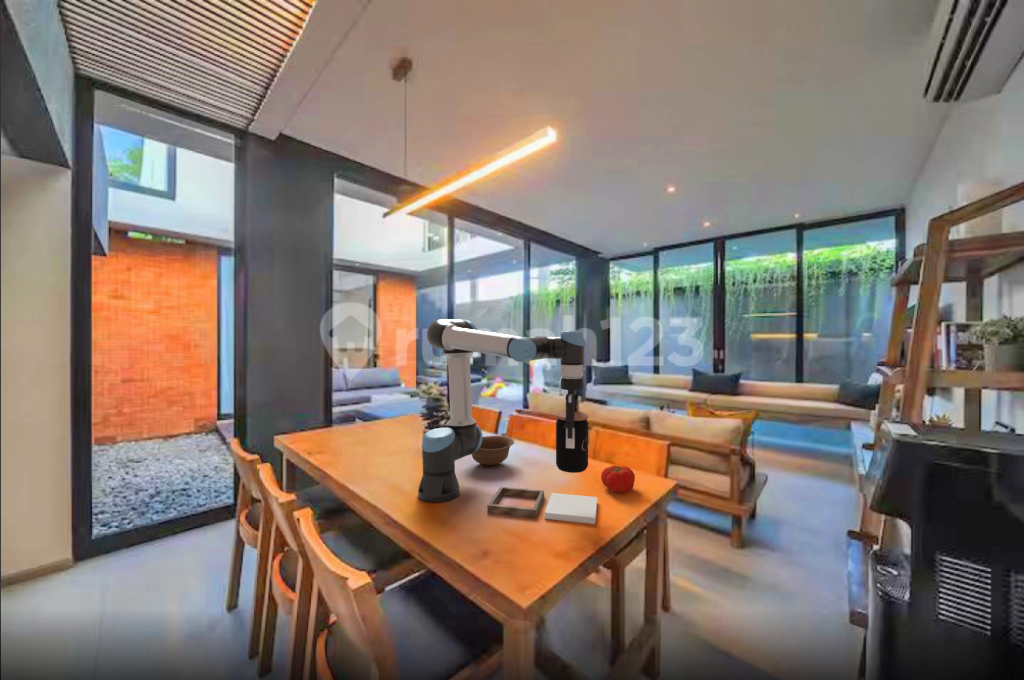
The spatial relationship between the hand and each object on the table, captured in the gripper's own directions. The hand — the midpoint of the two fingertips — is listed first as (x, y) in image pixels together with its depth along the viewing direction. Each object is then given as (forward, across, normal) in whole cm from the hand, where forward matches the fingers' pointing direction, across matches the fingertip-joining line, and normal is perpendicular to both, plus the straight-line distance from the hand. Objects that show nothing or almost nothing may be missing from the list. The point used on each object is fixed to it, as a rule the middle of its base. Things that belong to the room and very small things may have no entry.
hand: (571, 443), depth 138 cm
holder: (+23, 0, +19) cm, 30 cm away
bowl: (+23, +37, +40) cm, 59 cm away
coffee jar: (+9, 0, 0) cm, 9 cm away
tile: (+23, 0, 0) cm, 23 cm away
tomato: (+23, +21, -15) cm, 35 cm away
